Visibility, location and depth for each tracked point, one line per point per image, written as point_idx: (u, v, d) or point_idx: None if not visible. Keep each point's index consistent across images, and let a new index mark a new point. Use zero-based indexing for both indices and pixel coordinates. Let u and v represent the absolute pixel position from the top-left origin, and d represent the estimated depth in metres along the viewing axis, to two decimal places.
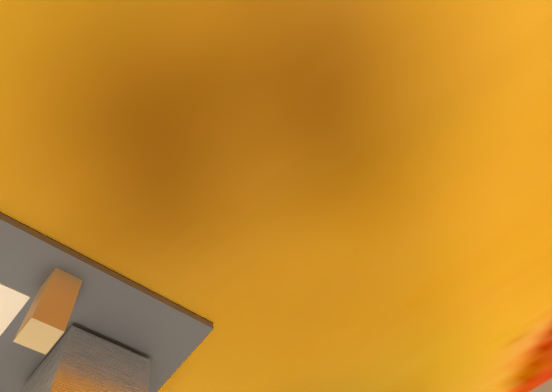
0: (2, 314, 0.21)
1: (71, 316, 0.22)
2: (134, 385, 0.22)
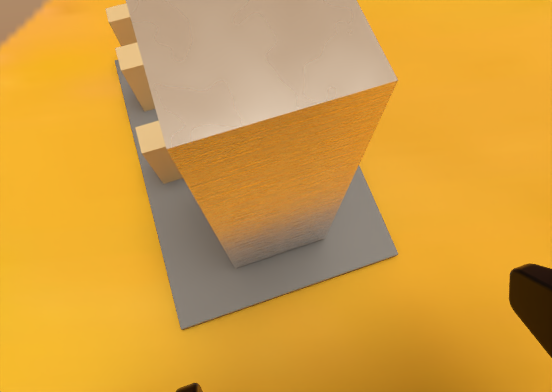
0: None
1: None
2: None
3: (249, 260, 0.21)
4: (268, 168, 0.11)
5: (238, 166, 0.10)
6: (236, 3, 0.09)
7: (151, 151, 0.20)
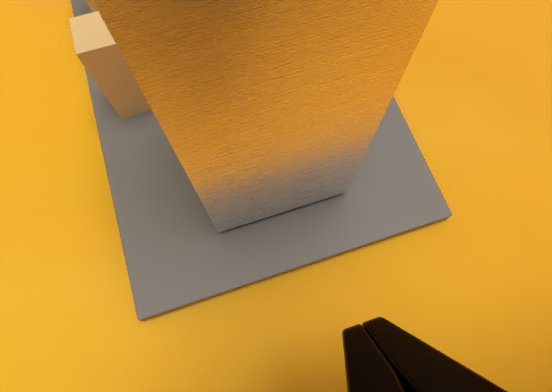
0: None
1: None
2: None
3: (238, 219, 0.14)
4: None
5: None
6: None
7: (91, 51, 0.13)
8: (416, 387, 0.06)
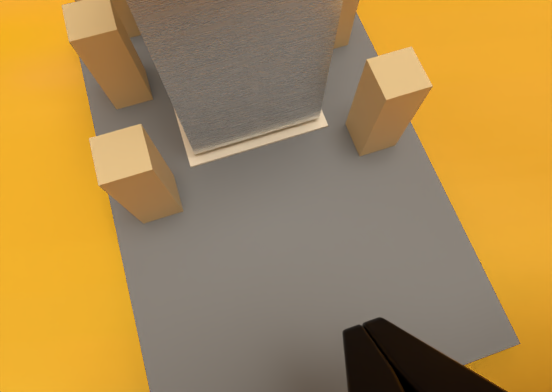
0: None
1: (347, 179, 0.15)
2: None
3: (213, 138, 0.15)
4: None
5: None
6: None
7: (116, 181, 0.11)
8: (416, 387, 0.06)
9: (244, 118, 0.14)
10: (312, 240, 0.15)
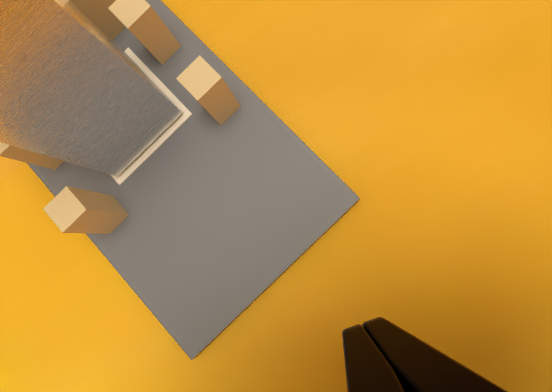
0: None
1: (219, 145, 0.22)
2: (154, 86, 0.20)
3: (120, 163, 0.21)
4: None
5: None
6: None
7: (70, 225, 0.18)
8: (416, 387, 0.06)
9: (130, 143, 0.21)
10: (213, 195, 0.22)
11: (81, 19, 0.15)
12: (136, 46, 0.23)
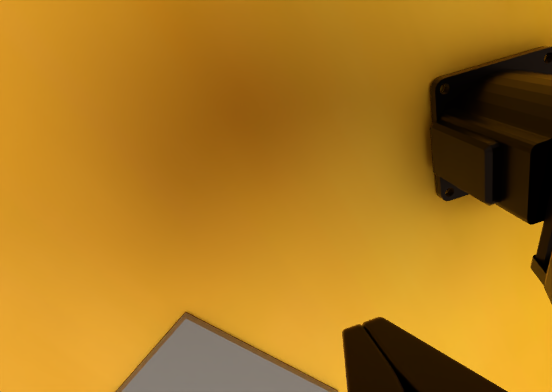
0: None
1: None
2: None
3: None
4: None
5: None
6: None
7: None
8: (416, 387, 0.06)
9: None
10: None
11: None
12: None
